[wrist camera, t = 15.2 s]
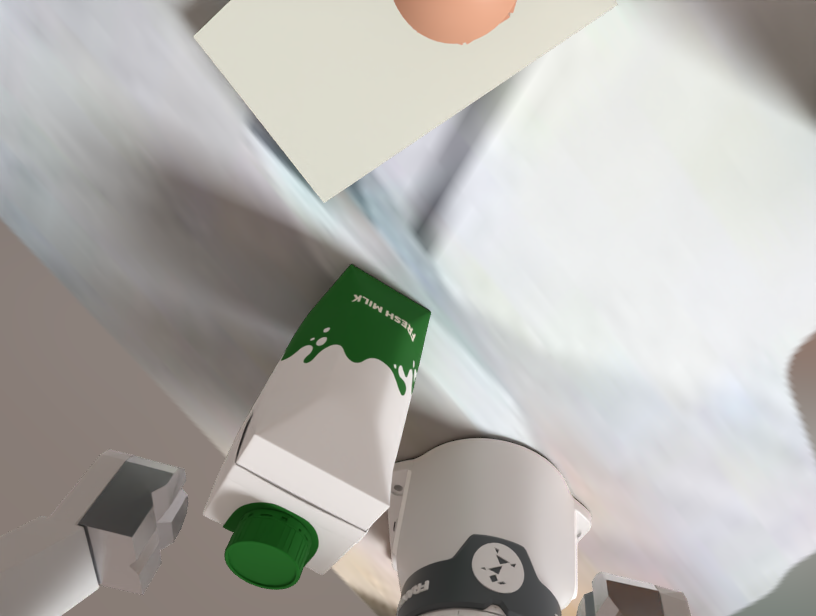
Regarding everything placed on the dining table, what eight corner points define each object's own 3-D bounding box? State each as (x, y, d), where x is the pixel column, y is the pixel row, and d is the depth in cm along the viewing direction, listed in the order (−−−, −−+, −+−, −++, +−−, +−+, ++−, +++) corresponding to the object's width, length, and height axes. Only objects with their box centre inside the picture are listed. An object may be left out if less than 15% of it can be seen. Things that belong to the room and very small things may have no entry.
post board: (332, 191, 39) (293, 243, 33) (208, 31, 35) (135, 54, 29) (612, 0, 31) (636, 19, 24) (494, -242, 27) (483, -301, 20)
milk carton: (296, 329, 46) (168, 549, 30) (347, 245, 41) (227, 453, 25) (390, 382, 48) (317, 621, 31) (449, 308, 43) (401, 544, 26)
